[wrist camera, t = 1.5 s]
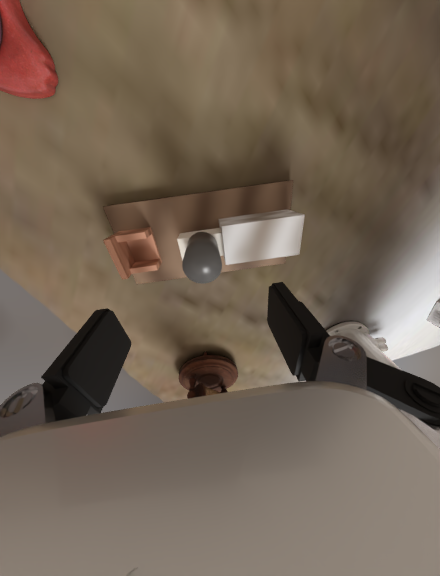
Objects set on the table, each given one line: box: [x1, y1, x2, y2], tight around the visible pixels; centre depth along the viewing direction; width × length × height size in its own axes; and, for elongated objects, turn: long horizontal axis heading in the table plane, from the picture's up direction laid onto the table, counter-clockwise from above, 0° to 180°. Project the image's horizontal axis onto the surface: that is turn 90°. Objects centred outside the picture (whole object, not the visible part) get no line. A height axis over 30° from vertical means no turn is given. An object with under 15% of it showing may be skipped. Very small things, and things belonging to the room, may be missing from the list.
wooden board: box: [103, 180, 305, 284], centre depth 24 cm, size 26×12×6 cm, turn 97°
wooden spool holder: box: [179, 352, 238, 399], centre depth 36 cm, size 15×15×20 cm
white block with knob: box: [177, 228, 224, 283], centre depth 21 cm, size 14×4×9 cm, turn 97°
